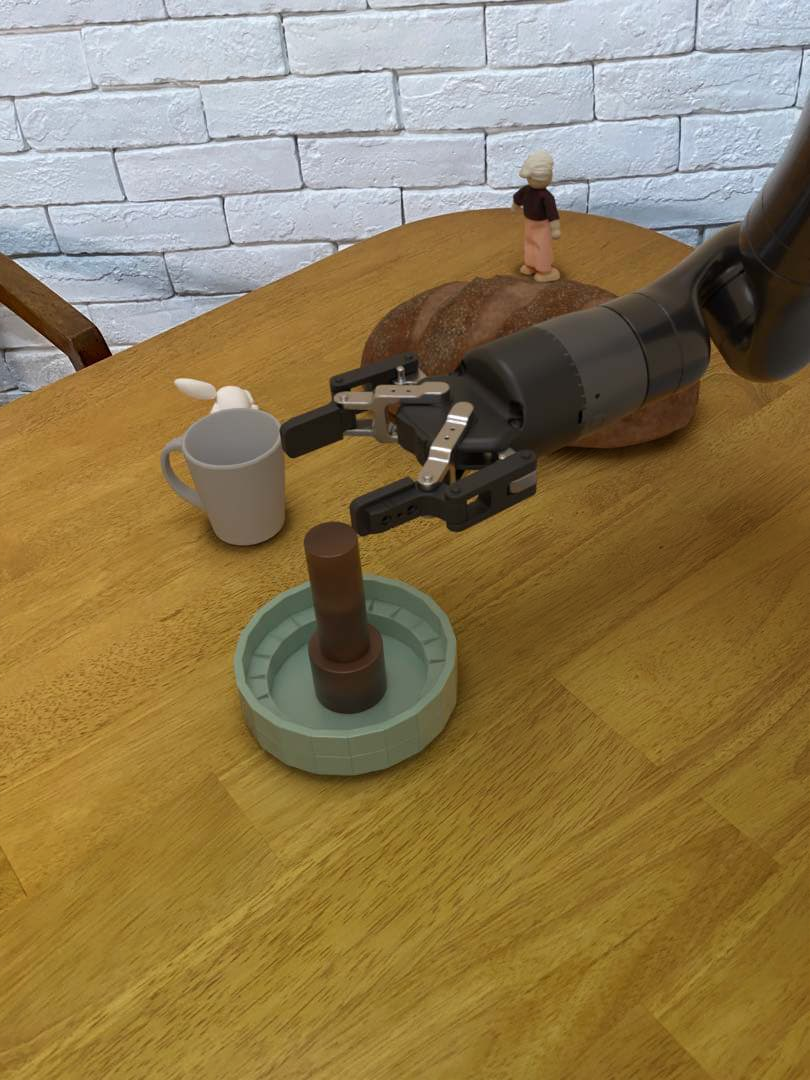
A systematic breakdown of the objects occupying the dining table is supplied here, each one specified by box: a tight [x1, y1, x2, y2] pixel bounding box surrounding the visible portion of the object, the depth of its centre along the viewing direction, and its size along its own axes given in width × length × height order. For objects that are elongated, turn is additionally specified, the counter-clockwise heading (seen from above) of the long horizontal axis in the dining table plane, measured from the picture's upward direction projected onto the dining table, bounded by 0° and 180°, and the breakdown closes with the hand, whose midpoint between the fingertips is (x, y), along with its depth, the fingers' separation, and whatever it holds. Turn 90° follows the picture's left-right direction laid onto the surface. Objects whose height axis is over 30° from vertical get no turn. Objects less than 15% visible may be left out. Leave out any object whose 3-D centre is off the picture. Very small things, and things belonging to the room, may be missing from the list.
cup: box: [159, 408, 286, 546], centre depth 87 cm, size 8×10×8 cm
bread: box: [359, 274, 701, 449], centre depth 96 cm, size 16×29×11 cm, turn 75°
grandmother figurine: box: [510, 150, 562, 283], centre depth 113 cm, size 8×4×13 cm, turn 43°
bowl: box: [232, 573, 459, 777], centre depth 74 cm, size 14×14×4 cm
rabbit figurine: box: [173, 377, 260, 414], centre depth 98 cm, size 6×4×8 cm
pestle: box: [303, 520, 387, 714], centre depth 70 cm, size 5×5×13 cm
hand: (317, 480), depth 63 cm, fingers open, 8 cm apart
